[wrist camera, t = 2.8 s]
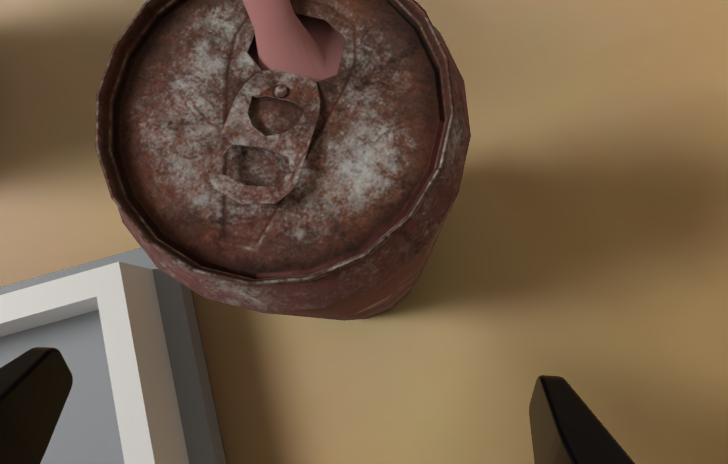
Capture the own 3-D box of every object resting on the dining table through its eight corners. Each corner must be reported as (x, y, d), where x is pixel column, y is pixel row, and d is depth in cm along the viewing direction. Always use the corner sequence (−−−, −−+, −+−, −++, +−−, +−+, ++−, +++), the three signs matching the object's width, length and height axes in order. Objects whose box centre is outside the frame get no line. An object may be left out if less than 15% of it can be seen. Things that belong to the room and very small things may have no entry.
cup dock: (247, 568, 19) (215, 622, 16) (-79, 658, 19) (-182, 730, 16) (181, 243, 22) (140, 227, 18) (-108, 324, 22) (-202, 324, 18)
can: (389, 149, 22) (377, -150, 8) (447, 287, 21) (551, 209, 7) (258, 201, 22) (21, -12, 8) (309, 342, 20) (131, 376, 7)
